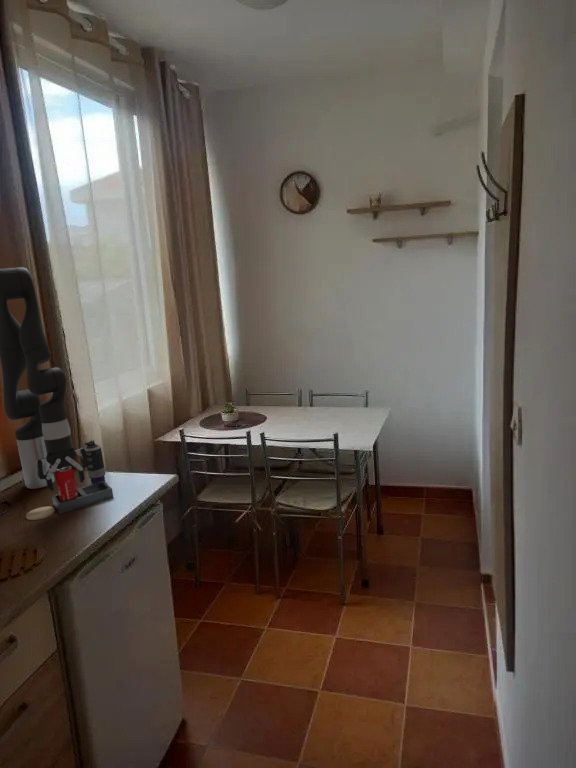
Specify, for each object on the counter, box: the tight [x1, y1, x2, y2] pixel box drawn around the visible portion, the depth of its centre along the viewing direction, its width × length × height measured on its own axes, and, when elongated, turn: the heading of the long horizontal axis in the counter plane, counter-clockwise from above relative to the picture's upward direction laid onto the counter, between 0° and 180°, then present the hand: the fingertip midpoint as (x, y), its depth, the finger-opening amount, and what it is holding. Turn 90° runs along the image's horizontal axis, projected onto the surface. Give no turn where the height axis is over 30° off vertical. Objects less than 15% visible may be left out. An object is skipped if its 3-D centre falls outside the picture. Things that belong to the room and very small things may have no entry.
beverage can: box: [54, 465, 78, 502], centre depth 165 cm, size 5×5×12 cm
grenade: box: [79, 439, 106, 485], centre depth 182 cm, size 5×7×15 cm
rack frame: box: [51, 481, 114, 515], centre depth 168 cm, size 9×16×3 cm, turn 125°
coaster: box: [25, 506, 56, 521], centre depth 162 cm, size 8×8×1 cm
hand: (66, 486), depth 165 cm, fingers open, 8 cm apart
